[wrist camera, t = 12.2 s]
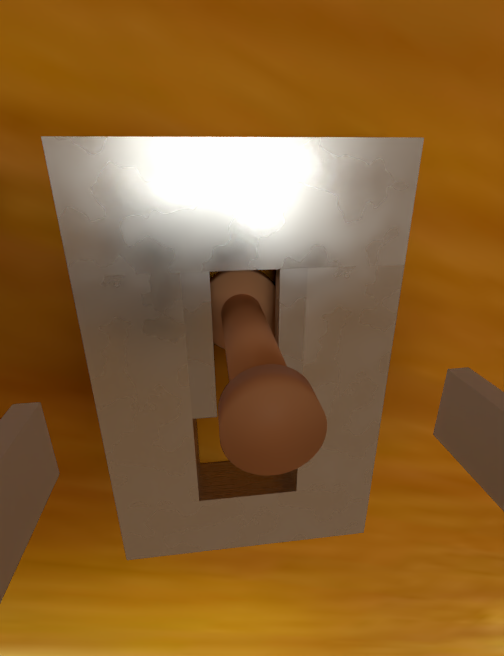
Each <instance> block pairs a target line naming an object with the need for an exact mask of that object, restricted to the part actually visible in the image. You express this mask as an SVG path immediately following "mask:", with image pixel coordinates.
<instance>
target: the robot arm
mask: <svg viewBox="0 0 504 656" xmlns="http://www.w3.org/2000/svg"><path fill="white" fill-rule="evenodd" d="M433 435H434V436H435V437H436V438H437V439H438V440H439V441H440V442H441V444H442V445H443V446H444V447H445V448H446V449H447V450H448V451H449V452H450V453H451V454H452V455H453V457H454V458H455V459H456V460H457V461H458V462H459V463H460V464H461V465H462V466H463V467H464V469H465V470H466V471H467V472H468V473H469V474H470V475H471V476H472V477H473V478H474V479H475V480H476V482H477V483H478V484H479V485H480V486H481V487H482V488H483V489H484V490H485V491H486V492H487V494H488V495H489V496H490V497H491V498H492V499H493V500H494V501H495V502H496V503H497V504H498V505H499V507H500V508H501V509H502V510H503V511H504V392H503V391H501V390H500V389H498V388H497V387H496V386H494V385H493V384H491V383H490V382H488V381H487V380H486V379H484V378H483V377H481V376H480V375H478V374H477V373H476V372H474V371H473V370H471V369H470V368H455V369H448V371H447V375H446V380H445V384H444V389H443V393H442V398H441V402H440V407H439V411H438V415H437V420H436V424H435V429H434V433H433ZM59 474H60V473H59V469H58V466H57V462H56V458H55V455H54V451H53V447H52V443H51V440H50V436H49V432H48V429H47V425H46V421H45V418H44V414H43V410H42V406H41V403H40V402H35V403H23V404H13V405H12V406H11V407H10V408H9V409H8V411H7V412H6V413H5V414H4V416H3V417H2V418H1V419H0V603H1V601H2V598H3V596H4V594H5V592H6V590H7V588H8V585H9V583H10V581H11V579H12V577H13V574H14V572H15V570H16V568H17V566H18V564H19V561H20V559H21V557H22V555H23V553H24V550H25V548H26V546H27V544H28V542H29V540H30V537H31V535H32V533H33V531H34V529H35V526H36V524H37V522H38V520H39V518H40V516H41V513H42V511H43V509H44V507H45V505H46V502H47V500H48V498H49V496H50V494H51V491H52V489H53V487H54V485H55V483H56V481H57V478H58V476H59Z"/></svg>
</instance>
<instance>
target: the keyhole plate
mask: <svg viewBox="0 0 504 656" xmlns="http://www.w3.org/2000/svg"><path fill="white" fill-rule="evenodd" d="M41 138H42V143H43V148H44V153H45V158H46V163H47V168H48V173H49V178H50V183H51V188H52V193H53V198H54V202H55V207H56V212H57V217H58V222H59V227H60V232H61V237H62V242H63V247H64V252H65V257H66V262H67V267H68V272H69V277H70V282H71V286H72V291H73V296H74V301H75V306H76V311H77V316H78V321H79V326H80V331H81V336H82V341H83V346H84V351H85V356H86V361H87V366H88V371H89V375H90V380H91V385H92V390H93V395H94V400H95V405H96V410H97V415H98V420H99V425H100V430H101V435H102V440H103V445H104V450H105V455H106V460H107V464H108V469H109V474H110V479H111V484H112V489H113V494H114V499H115V504H116V509H117V514H118V519H119V524H120V529H121V534H122V539H123V544H124V549H125V553H126V558H127V560H132V559H140V558H149V557H158V556H166V555H175V554H183V553H192V552H201V551H209V550H218V549H226V548H235V547H244V546H252V545H261V544H269V543H278V542H287V541H295V540H304V539H312V538H321V537H330V536H338V535H347V534H355V533H364V527H365V520H366V513H367V507H368V500H369V494H370V487H371V481H372V474H373V468H374V461H375V455H376V448H377V441H378V435H379V428H380V422H381V415H382V409H383V402H384V396H385V389H386V383H387V376H388V370H389V363H390V356H391V350H392V343H393V337H394V330H395V324H396V317H397V311H398V304H399V298H400V291H401V284H402V278H403V271H404V265H405V258H406V252H407V245H408V239H409V232H410V226H411V219H412V213H413V206H414V199H415V193H416V186H417V180H418V173H419V167H420V160H421V154H422V147H423V141H424V138H341V137H41ZM268 269H276V294H275V340H276V342H277V345H278V347H279V349H280V352H281V354H282V356H283V358H284V361H285V363H286V365H287V367H290V368H292V369H294V370H296V371H298V372H299V373H300V374H302V375H303V376H304V377H305V378H306V379H307V380H308V382H309V383H310V385H311V387H312V389H313V391H314V393H315V395H316V397H317V399H318V400H319V402H320V404H321V406H322V408H323V410H324V412H325V415H326V419H327V432H326V437H325V440H324V442H323V444H322V446H321V448H320V449H319V451H318V452H317V453H316V454H315V456H314V457H313V458H312V459H310V460H309V461H308V462H307V463H305V464H304V465H302V466H301V467H299V468H297V469H295V470H293V471H290V472H287V473H284V474H279V475H270V476H264V475H256V474H252V473H248V472H246V471H243V470H241V469H239V468H238V467H236V466H235V465H234V464H232V463H231V462H230V461H225V462H214V463H203V464H200V459H199V446H198V433H197V421H196V418H209V417H217V405H216V386H215V367H214V348H213V329H212V310H211V291H210V273H209V272H212V271H240V270H268Z"/></svg>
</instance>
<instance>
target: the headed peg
mask: <svg viewBox="0 0 504 656" xmlns="http://www.w3.org/2000/svg"><path fill="white" fill-rule="evenodd" d="M210 291H211V310H212V329H213V343H214V344H216V345H217V346H219V347H221V348H223V349H225V350H226V358H227V367H228V375H229V383H228V385H227V386H226V387H225V389H224V391H223V392H222V394H221V397H220V400H219V405H218V416H219V433H220V443H221V447H222V450H223V452H224V454H225V455H226V457H227V458H228V460H229V461H230V462H231V463H232V464H234V465H235V466H236V467H238V468H239V469H241V470H243V471H246V472H248V473H252V474H256V475H264V476H270V475H279V474H284V473H287V472H290V471H293V470H295V469H297V468H299V467H301V466H302V465H304V464H305V463H307V462H308V461H309V460H310V459H312V458H313V457H314V456H315V454H316V453H317V452H318V451H319V449H320V448H321V446H322V444H323V442H324V440H325V437H326V432H327V419H326V415H325V412H324V410H323V408H322V406H321V404H320V402H319V400H318V399H317V397H316V395H315V393H314V391H313V389H312V387H311V385H310V383H309V382H308V380H307V379H306V378H305V377H304V376H303V375H302V374H300V373H299V372H298V371H296V370H294V369H292V368H290V367H287V365H286V363H285V361H284V358H283V356H282V354H281V352H280V349H279V347H278V345H277V342H276V340H275V338H274V335H275V294H276V287H275V286H274V284H273V283H272V281H271V280H270V279H269V278H268V277H267V276H266V275H265V274H263V273H262V272H260V271H258V270H240V271H220V272H218V273H217V274H215V275H214V276H213V277H212V278H210Z"/></svg>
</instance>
